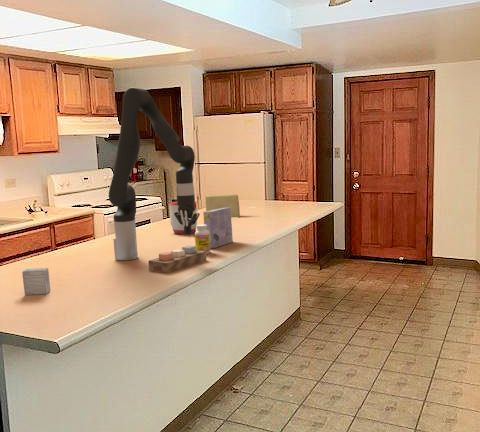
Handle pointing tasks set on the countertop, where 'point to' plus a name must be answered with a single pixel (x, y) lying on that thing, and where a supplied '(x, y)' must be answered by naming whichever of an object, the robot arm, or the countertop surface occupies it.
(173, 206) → the citrus juicer
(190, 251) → the slate key
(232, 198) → the cheese
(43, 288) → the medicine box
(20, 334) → the countertop surface
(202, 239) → the supplement bottle
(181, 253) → the cream cube
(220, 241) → the cake pan box
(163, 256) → the pink cube
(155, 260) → the key panel
